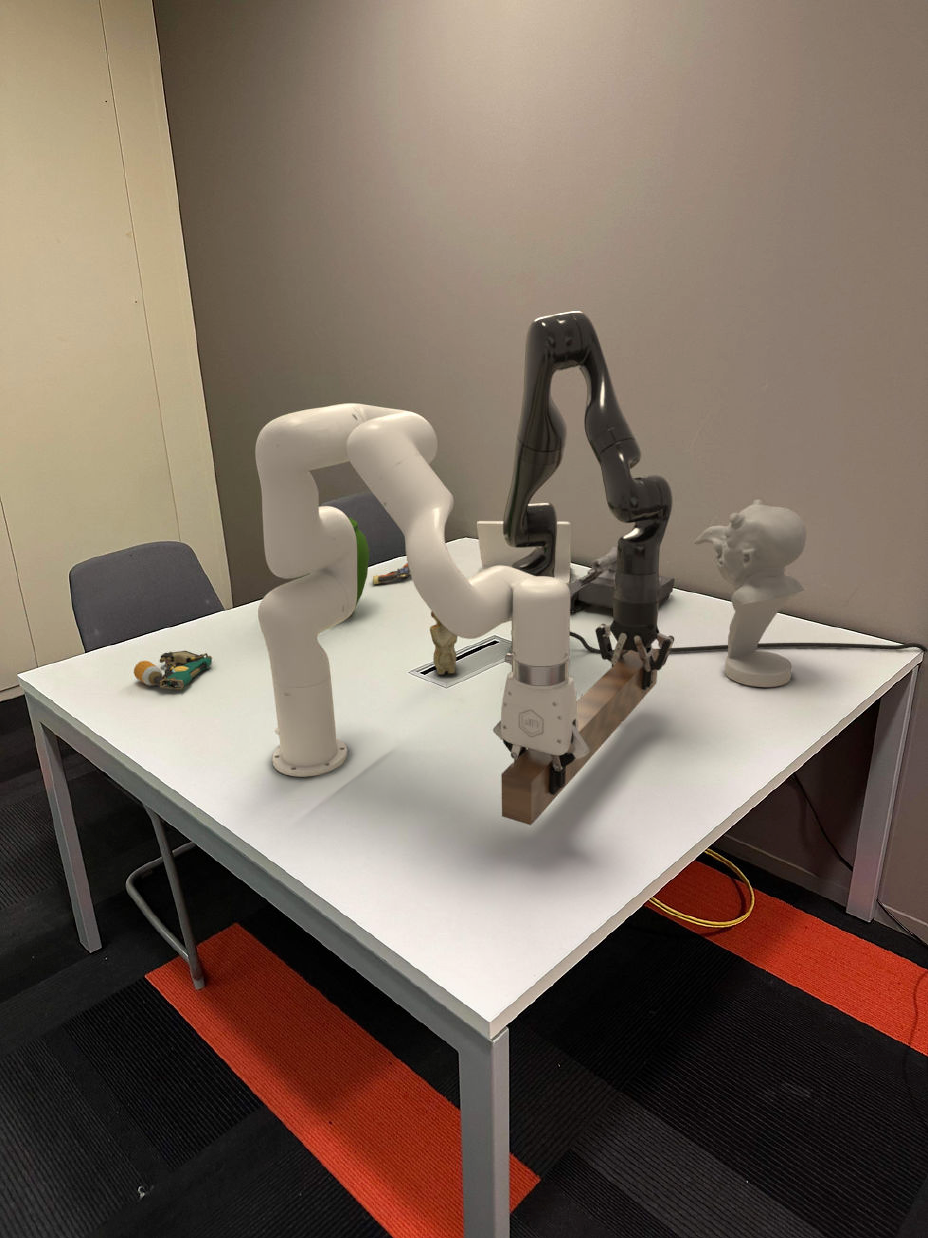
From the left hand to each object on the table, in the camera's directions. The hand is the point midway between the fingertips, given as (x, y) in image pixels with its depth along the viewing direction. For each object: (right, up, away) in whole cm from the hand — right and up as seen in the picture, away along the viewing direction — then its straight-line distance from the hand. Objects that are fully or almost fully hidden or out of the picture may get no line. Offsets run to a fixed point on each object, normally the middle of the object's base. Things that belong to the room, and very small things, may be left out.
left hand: (539, 784), depth 121 cm
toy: (+27, +27, +93) cm, 101 cm away
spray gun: (-71, +11, +59) cm, 94 cm away
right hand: (+19, +12, +29) cm, 37 cm away
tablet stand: (+6, +36, +118) cm, 123 cm away
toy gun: (-30, +36, +121) cm, 129 cm away
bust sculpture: (+46, +13, +54) cm, 72 cm away
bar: (+9, +4, +15) cm, 19 cm away
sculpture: (-15, +13, +58) cm, 61 cm away
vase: (-43, +25, +92) cm, 105 cm away
